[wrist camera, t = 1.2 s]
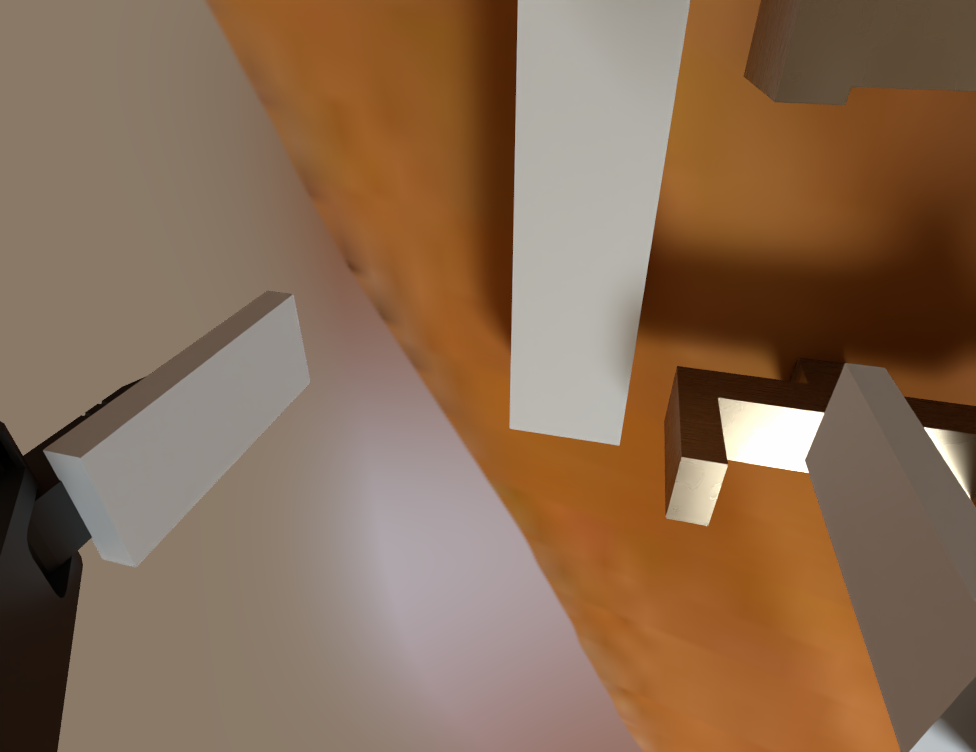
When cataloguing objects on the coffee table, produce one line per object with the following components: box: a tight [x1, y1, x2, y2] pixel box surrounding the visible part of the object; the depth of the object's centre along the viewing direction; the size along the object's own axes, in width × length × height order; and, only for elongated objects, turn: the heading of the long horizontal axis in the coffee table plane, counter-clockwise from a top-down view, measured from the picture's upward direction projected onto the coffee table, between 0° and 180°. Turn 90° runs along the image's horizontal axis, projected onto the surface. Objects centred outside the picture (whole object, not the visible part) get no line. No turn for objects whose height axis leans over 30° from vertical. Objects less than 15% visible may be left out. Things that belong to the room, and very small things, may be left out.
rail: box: [510, 0, 690, 445], centre depth 23 cm, size 18×5×5 cm, turn 1°
